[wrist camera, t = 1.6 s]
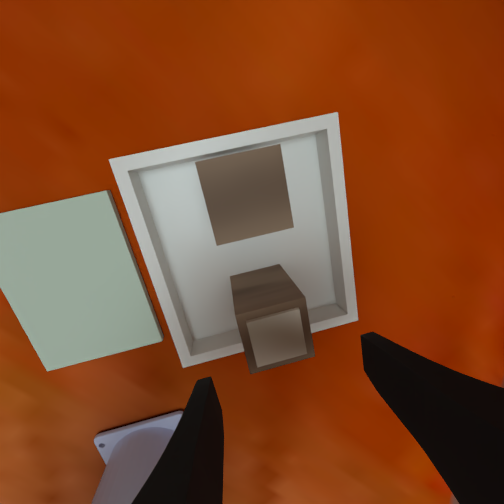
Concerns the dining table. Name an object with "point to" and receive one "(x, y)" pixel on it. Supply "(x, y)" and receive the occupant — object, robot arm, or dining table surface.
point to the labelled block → (271, 318)
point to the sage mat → (75, 280)
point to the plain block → (246, 194)
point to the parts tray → (248, 250)
